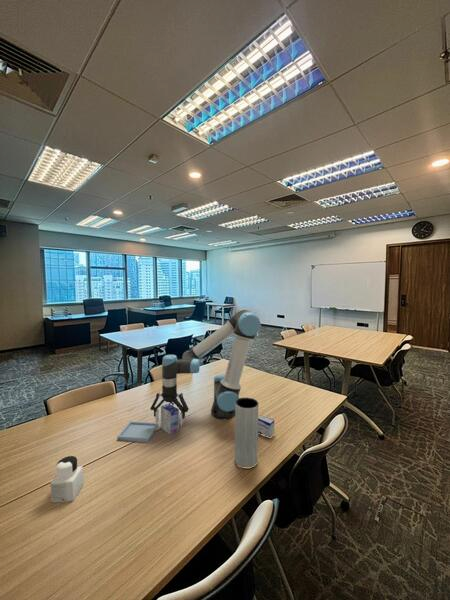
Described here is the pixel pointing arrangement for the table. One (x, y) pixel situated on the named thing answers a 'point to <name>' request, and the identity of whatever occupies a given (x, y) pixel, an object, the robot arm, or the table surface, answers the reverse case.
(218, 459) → the table surface
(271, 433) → the box
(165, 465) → the table surface
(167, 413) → the ink cartridge box
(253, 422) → the vase
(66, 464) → the container
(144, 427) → the tray
